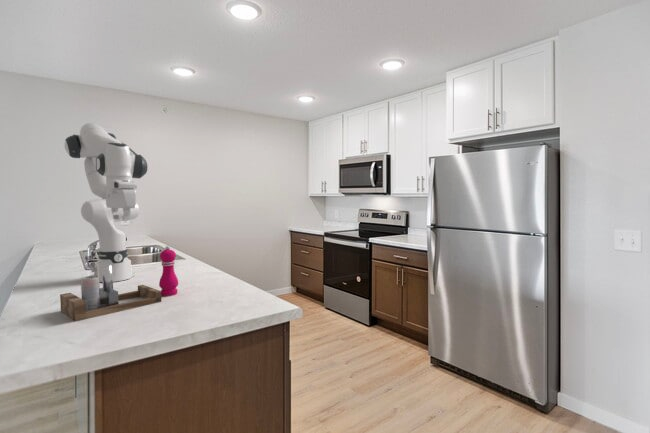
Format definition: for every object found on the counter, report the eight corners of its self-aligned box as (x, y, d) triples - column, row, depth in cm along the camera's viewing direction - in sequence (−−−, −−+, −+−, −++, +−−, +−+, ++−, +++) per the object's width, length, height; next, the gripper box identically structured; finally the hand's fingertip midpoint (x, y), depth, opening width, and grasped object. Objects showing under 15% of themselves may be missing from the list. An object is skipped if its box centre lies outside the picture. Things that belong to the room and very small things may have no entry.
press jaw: (98, 304, 132) (97, 264, 132) (108, 302, 135) (106, 263, 134) (109, 310, 126) (107, 267, 125) (119, 307, 128) (117, 266, 128)
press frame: (60, 311, 126) (60, 294, 126) (143, 294, 147) (142, 279, 147) (75, 321, 116) (74, 303, 115) (161, 301, 137) (160, 286, 137)
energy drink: (98, 307, 130) (96, 274, 129) (102, 310, 126) (100, 277, 126) (80, 311, 126) (79, 277, 126) (84, 314, 123) (82, 279, 122)
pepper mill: (171, 296, 143) (170, 247, 142) (155, 296, 145) (153, 246, 144) (182, 292, 150) (180, 244, 149) (166, 291, 152) (165, 244, 151)
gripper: (100, 184, 144) (102, 219, 145) (121, 183, 131) (122, 221, 132) (117, 185, 149) (119, 218, 150) (138, 183, 136) (140, 220, 137)
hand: (120, 219), depth 141 cm, fingers open, 8 cm apart
